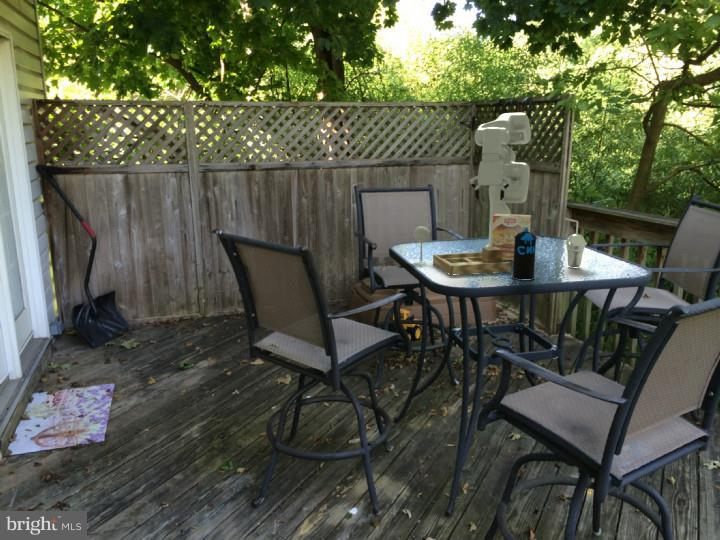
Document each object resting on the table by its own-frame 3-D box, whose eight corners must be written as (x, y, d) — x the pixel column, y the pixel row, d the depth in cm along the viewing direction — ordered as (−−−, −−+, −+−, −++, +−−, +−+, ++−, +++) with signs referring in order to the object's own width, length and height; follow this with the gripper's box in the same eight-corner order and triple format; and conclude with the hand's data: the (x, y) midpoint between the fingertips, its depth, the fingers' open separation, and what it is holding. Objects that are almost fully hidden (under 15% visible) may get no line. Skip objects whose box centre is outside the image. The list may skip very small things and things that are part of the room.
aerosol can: (509, 275, 225) (511, 224, 220) (529, 275, 225) (532, 224, 221) (516, 281, 217) (519, 228, 212) (537, 280, 217) (540, 227, 213)
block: (495, 261, 239) (496, 246, 238) (501, 264, 233) (502, 249, 232) (481, 261, 238) (482, 247, 237) (487, 265, 232) (488, 250, 231)
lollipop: (430, 258, 257) (431, 225, 254) (427, 262, 251) (427, 227, 247) (415, 257, 260) (415, 224, 256) (411, 261, 253) (411, 227, 250)
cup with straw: (574, 270, 232) (578, 221, 227) (557, 266, 240) (560, 218, 235) (589, 268, 236) (593, 219, 231) (572, 264, 243) (575, 216, 239)
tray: (488, 260, 252) (488, 251, 251) (510, 272, 230) (511, 262, 230) (433, 263, 247) (433, 254, 246) (450, 275, 226) (450, 265, 225)
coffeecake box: (491, 259, 254) (492, 215, 250) (494, 256, 261) (496, 213, 256) (526, 262, 248) (528, 216, 244) (528, 258, 254) (531, 214, 250)
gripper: (513, 158, 241) (511, 199, 245) (471, 158, 246) (469, 198, 249) (512, 158, 234) (510, 200, 238) (469, 158, 239) (467, 199, 242)
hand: (489, 199), depth 243 cm, fingers open, 9 cm apart
